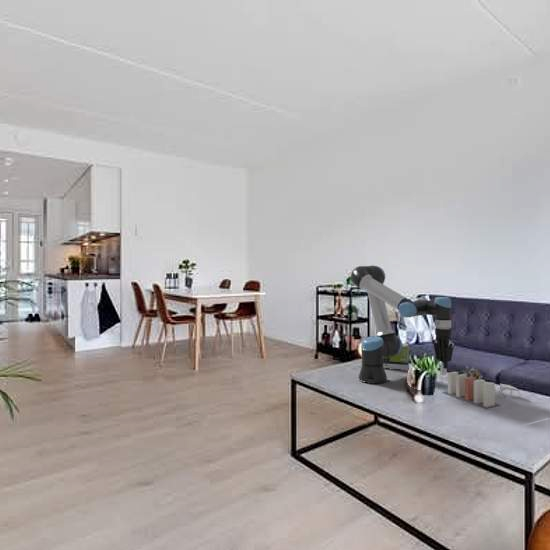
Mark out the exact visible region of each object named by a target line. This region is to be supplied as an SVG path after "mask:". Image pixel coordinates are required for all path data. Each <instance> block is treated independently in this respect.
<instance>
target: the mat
mask: <svg viewBox="0 0 550 550" xmlns="http://www.w3.org/2000/svg"><path fill="white" fill-rule="evenodd" d="M441 393H442V394H444V395H446V396H450V397H451V398H455V399H457V400H459V401H460V400H461V401H462V402H466V403H468V404H471V405H474V406H476V407H479V408H480V409H484V410H488V409H489V410H490V409H494V408H498V407H502V405H501V404H499V403H496V402H495V405H494V406H490V407H485V406H483V402H482V403H478V404H477V403H474V399H471V400H466V399H465V396H461V397H458V396H456V393H453V394H450V393H448V390H447V391H443V392H441Z"/></svg>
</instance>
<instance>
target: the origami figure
mask: <svg viewBox="0 0 550 550" xmlns="http://www.w3.org/2000/svg"><path fill="white" fill-rule="evenodd" d="M505 390H508V391H509V390H510V393H509V396H512V392H513V391H516V392H518V395H519V396H517V397H516V400H519V399H520V398H521V397H522V395H521V393H520V390H519V389H518V388H517V387H515V386H512V385H510V384H503V383H499V391H498V392H497V393H498V394H500V395H501V396H502V397H504V398H505V397H506V395H505V394H503V392H504V391H505Z"/></svg>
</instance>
